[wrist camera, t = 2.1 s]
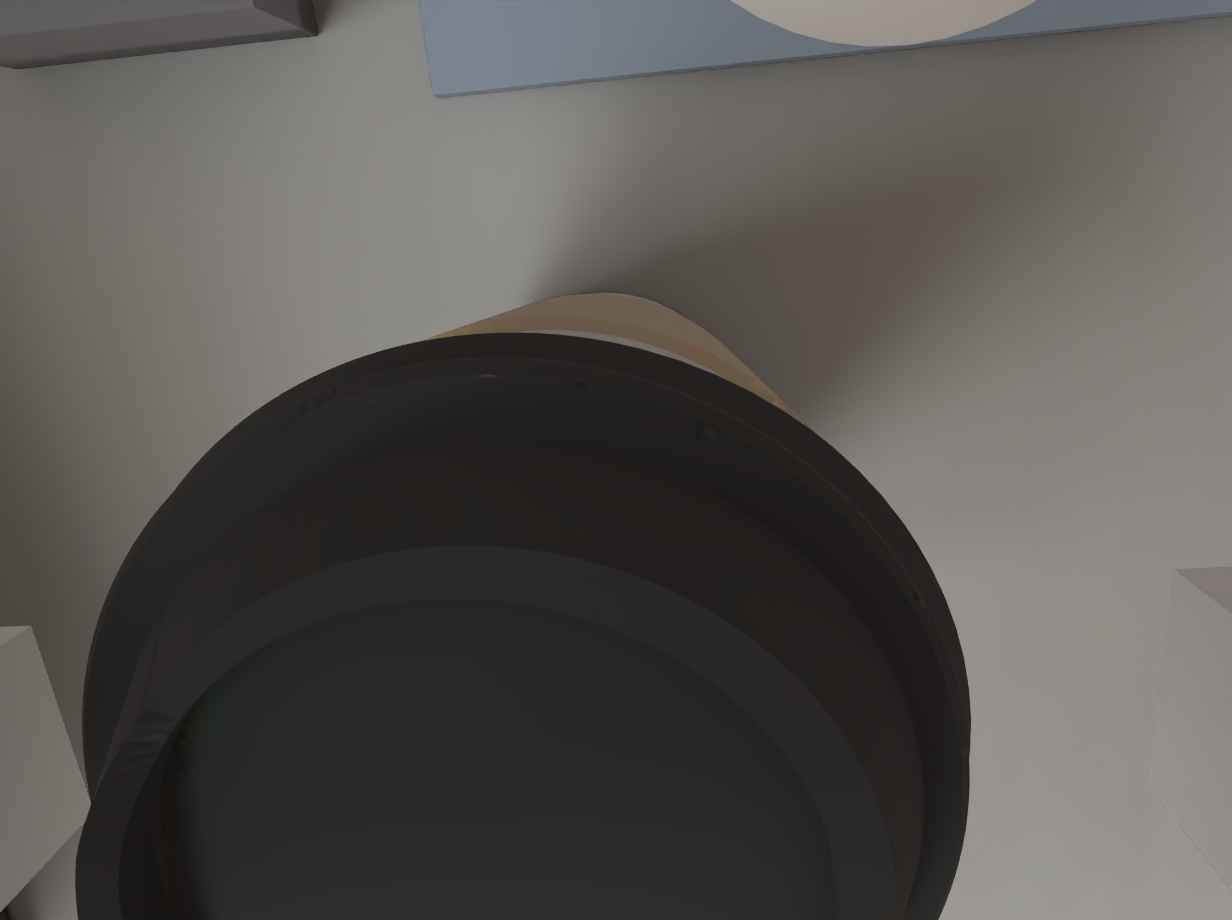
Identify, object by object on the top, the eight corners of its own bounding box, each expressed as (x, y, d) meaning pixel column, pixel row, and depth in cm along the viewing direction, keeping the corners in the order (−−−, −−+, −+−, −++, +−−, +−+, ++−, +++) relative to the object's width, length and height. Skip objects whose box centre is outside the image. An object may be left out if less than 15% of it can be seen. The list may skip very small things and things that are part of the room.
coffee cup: (817, 262, 19) (1262, 468, 5) (764, 612, 22) (954, 1386, 8) (428, 230, 19) (-214, 339, 5) (425, 581, 22) (4, 1274, 8)
